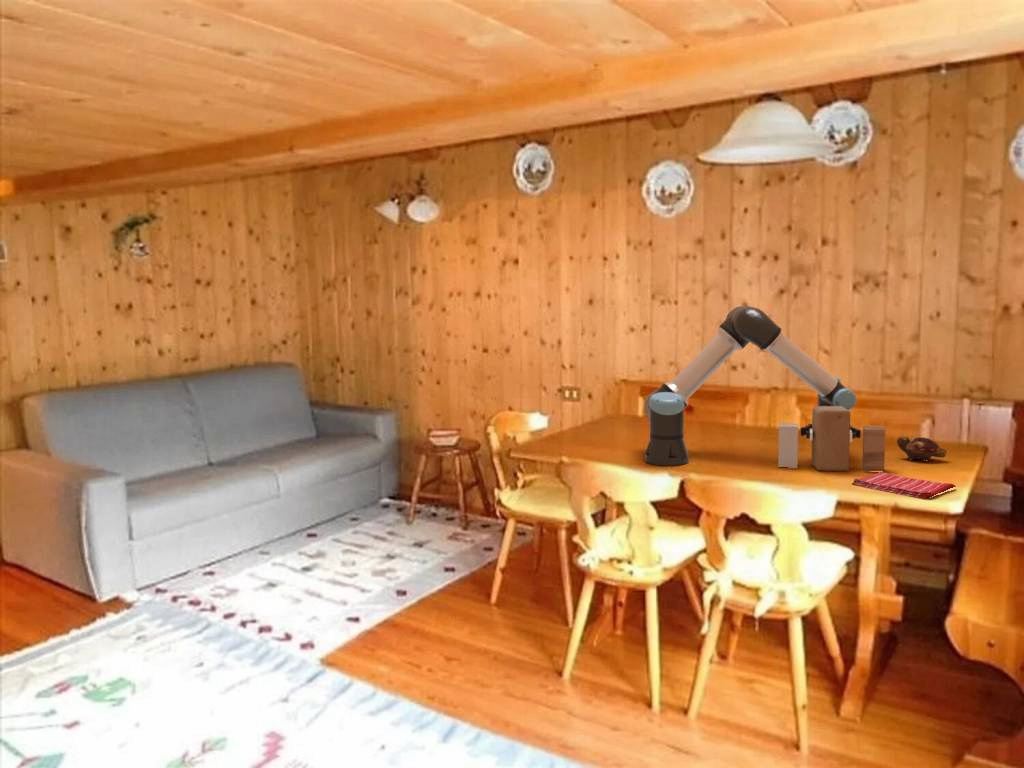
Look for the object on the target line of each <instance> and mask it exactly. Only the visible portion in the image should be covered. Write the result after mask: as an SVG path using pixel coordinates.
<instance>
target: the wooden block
mask: <svg viewBox="0 0 1024 768" xmlns="http://www.w3.org/2000/svg"><path fill="white" fill-rule="evenodd" d="M811 420H812V423H811V424H812V431H813V436H812V441H811V464H812V466H813V467H814V468H815V469H816V470H817V471H819V470H822V471H821V472H823V471H825V472H846V471H845V470H847V471H849V469H850V447H851V446H850V443H851V442H850V425H851V411H850V410H847V409H846V408H844V407H842V406H818V405H815V406H813V408H812V419H811Z"/></svg>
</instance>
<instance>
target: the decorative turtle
mask: <svg viewBox="0 0 1024 768" xmlns="http://www.w3.org/2000/svg"><path fill="white" fill-rule="evenodd" d="M896 443H897V446H898V447H899V449H900V450H901V451H902V452H904V453H905V454H906V456H907V458H908V460H909V459H911V460H913V461H915V460H916V459H917V458H919V459H921V460H922V461H923V460H925V461H926V460H928V461H930V460H931V458H932V457H935V458H945V457H946V456H947V454H948V452H947V449H944V448H942V447H940V445H939V444H938V443H937V442H936V441H934V440H932V439H930V438H927V437H915V438H913V439H911V440H910V438H909V437H907V436H900V437H898V438H897V440H896ZM914 459H915V460H914Z"/></svg>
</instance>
